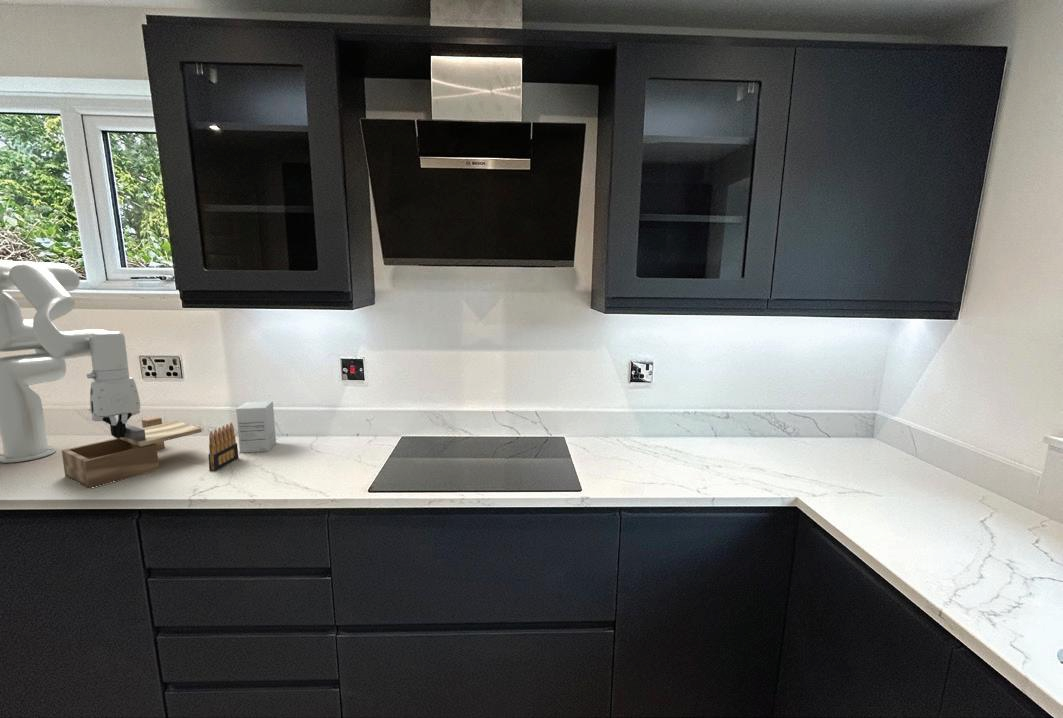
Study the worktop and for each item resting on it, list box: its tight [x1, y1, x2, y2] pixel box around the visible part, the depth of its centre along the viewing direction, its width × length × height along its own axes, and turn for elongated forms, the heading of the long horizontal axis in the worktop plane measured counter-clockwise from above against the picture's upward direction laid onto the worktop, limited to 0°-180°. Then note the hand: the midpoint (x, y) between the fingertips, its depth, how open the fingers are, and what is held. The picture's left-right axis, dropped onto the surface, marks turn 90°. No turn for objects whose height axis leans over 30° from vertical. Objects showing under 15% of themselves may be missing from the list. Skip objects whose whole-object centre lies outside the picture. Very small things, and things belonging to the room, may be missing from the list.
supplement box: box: [235, 400, 277, 454], centre depth 158 cm, size 9×9×15 cm
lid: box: [119, 420, 202, 447], centre depth 145 cm, size 15×16×4 cm
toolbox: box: [61, 437, 160, 489], centre depth 136 cm, size 16×16×8 cm
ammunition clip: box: [208, 422, 239, 472], centre depth 143 cm, size 11×2×12 cm, turn 178°
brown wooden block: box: [141, 416, 165, 450], centre depth 156 cm, size 4×4×10 cm
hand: (119, 436), depth 137 cm, fingers closed
